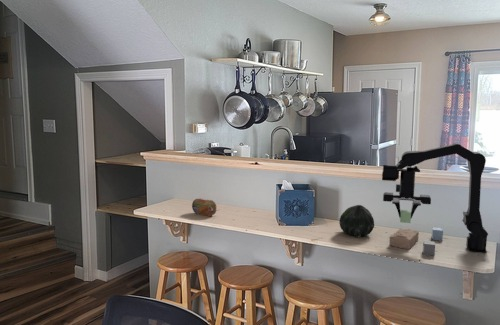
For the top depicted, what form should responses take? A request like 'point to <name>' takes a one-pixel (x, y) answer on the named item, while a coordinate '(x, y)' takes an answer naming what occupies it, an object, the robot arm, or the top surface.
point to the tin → (204, 207)
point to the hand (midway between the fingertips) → (405, 218)
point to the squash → (357, 221)
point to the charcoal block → (429, 248)
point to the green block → (405, 216)
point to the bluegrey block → (437, 233)
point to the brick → (404, 238)
